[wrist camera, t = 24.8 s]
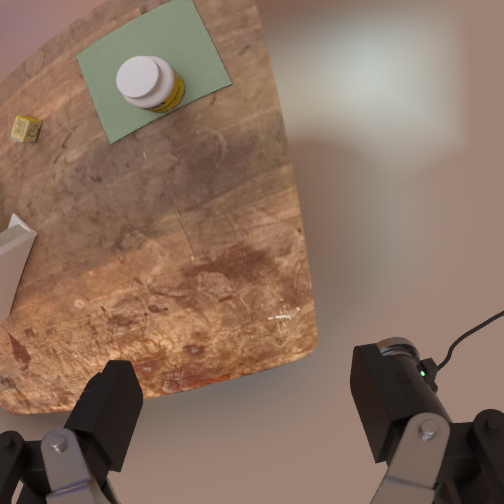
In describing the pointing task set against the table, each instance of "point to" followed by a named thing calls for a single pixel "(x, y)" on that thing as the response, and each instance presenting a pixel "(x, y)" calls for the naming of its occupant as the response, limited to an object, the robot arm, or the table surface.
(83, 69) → the mat
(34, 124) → the alphabet block
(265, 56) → the table surface
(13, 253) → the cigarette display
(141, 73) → the supplement bottle
